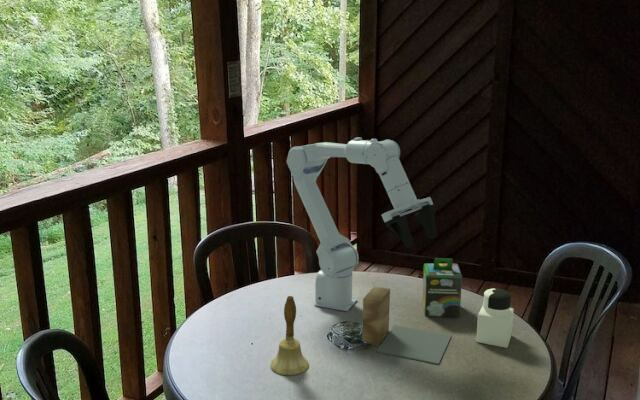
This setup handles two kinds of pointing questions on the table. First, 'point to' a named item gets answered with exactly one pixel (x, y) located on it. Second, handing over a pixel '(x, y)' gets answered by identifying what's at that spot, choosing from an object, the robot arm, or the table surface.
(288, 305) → the hand bell
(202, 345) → the table surface
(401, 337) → the mat
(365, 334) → the tan rectangular block
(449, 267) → the chalk box
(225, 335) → the table surface
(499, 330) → the medicine bottle
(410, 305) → the table surface
